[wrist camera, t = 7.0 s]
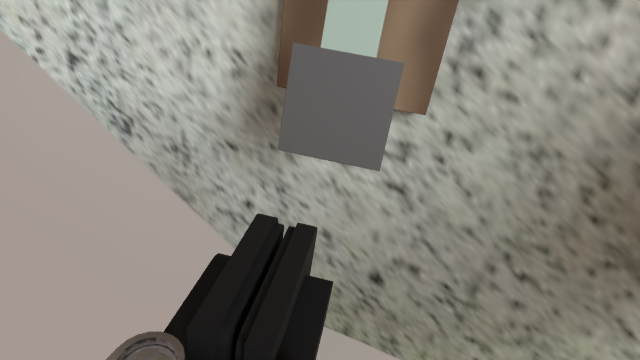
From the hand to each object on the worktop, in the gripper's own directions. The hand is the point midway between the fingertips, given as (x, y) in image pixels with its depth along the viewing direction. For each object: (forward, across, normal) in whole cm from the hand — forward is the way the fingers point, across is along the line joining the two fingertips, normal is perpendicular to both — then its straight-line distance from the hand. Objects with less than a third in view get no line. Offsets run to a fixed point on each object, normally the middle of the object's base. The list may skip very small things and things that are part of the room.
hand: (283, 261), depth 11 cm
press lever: (+15, +1, -6) cm, 17 cm away
